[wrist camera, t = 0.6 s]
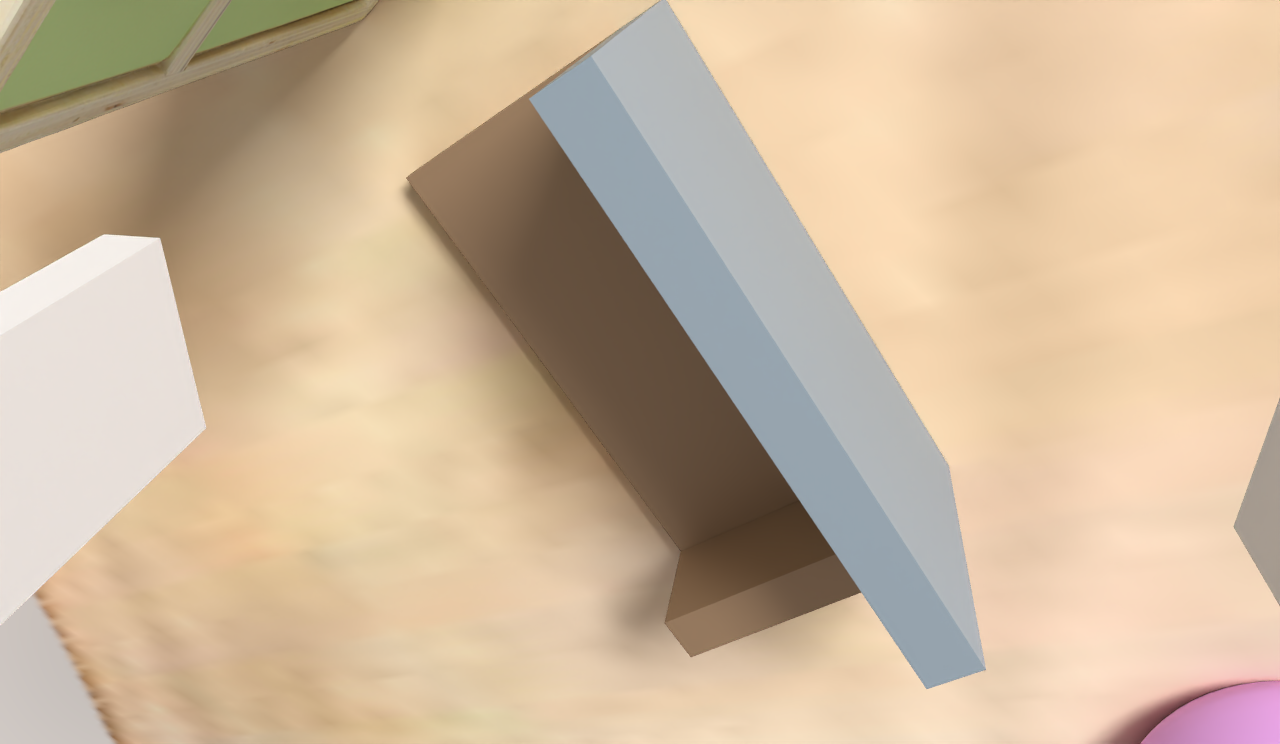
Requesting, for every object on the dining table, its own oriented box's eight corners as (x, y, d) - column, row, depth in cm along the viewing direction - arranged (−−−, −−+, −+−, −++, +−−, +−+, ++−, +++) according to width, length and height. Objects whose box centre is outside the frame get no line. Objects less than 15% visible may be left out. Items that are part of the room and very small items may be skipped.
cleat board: (417, 169, 40) (266, 279, 29) (664, -3, 35) (590, 55, 25) (707, 566, 46) (669, 774, 36) (948, 465, 42) (985, 669, 31)
